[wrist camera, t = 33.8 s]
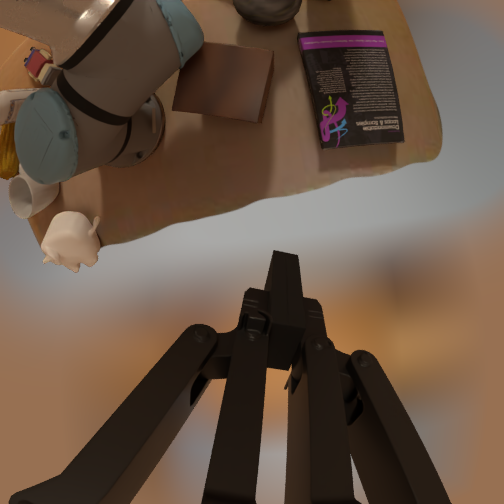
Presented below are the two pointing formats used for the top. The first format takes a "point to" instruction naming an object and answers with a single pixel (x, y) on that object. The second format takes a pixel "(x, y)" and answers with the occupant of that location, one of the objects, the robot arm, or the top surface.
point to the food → (8, 152)
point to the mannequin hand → (71, 241)
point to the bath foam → (12, 103)
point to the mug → (30, 195)
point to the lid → (224, 81)
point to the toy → (42, 66)
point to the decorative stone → (267, 11)
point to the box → (352, 87)
